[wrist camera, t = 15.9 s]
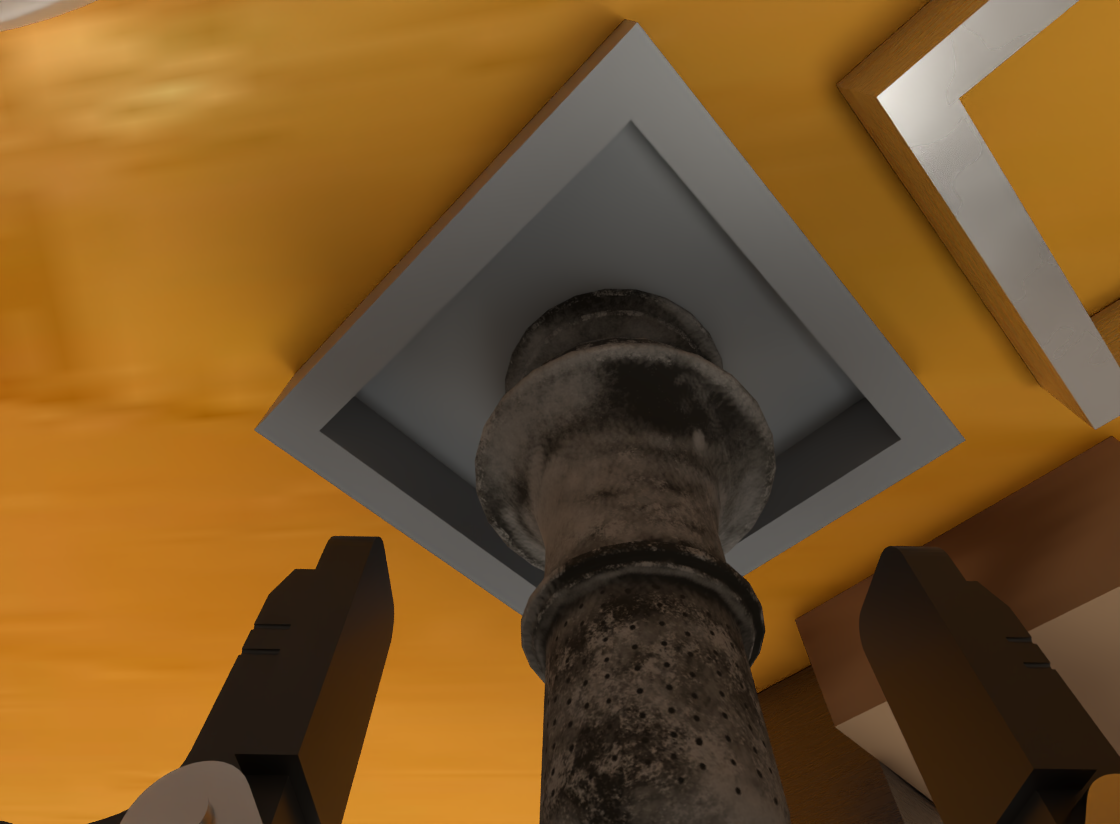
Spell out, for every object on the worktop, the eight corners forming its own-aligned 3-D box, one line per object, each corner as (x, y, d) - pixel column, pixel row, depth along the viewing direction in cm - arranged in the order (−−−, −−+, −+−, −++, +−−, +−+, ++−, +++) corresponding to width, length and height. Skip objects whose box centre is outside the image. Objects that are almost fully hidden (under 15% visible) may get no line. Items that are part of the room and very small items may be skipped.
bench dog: (833, 654, 22) (915, 850, 17) (895, 707, 24) (987, 903, 18) (736, 705, 23) (783, 900, 18) (799, 752, 25) (860, 945, 20)
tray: (625, 19, 13) (637, 22, 10) (914, 384, 17) (965, 440, 14) (293, 375, 17) (254, 430, 14) (592, 598, 21) (595, 666, 19)
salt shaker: (547, 514, 18) (515, 1178, 8) (450, 328, 15) (201, 979, 5) (761, 450, 17) (1059, 1132, 7) (699, 235, 14) (1050, 837, 4)
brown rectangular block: (1103, 429, 18) (1231, 530, 14) (1209, 580, 21) (1335, 694, 17) (791, 612, 22) (834, 726, 18) (918, 718, 24) (975, 833, 21)
